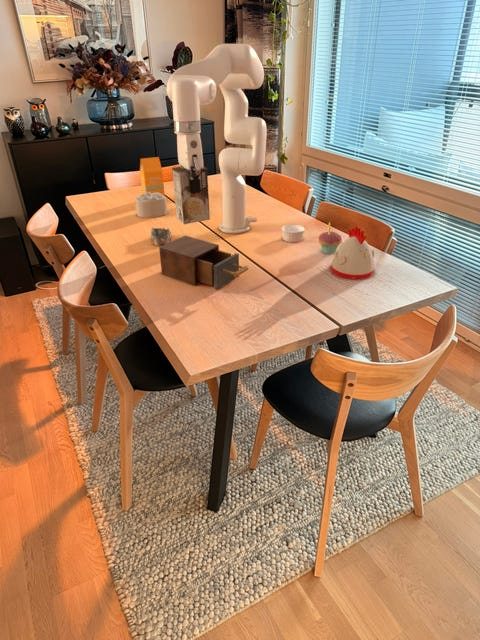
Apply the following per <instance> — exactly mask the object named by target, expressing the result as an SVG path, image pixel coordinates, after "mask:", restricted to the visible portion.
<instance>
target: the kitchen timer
mask: <svg viewBox="0 0 480 640" xmlns="http://www.w3.org/2000/svg"><path fill="white" fill-rule="evenodd" d="M366 238H367V235H365V230H361V228H358V226H355V227H354V228H351V230H350V229H349V230H348V238H347V239H345V240H344V241H342V243H341V244H340V245H339V246H338V247H337V249H336V251H335V253H333V258H332V261H331V264H330V265H331V266H330V269H331V273H333V274H334V275H336V276H337V277H340V278H342V279H347V280H365V279H368V278H370V277H372V276H373V274H374V269H375V260H374V258H375V251H374V249H371V247H370V245H369V243H368V242H367V241H366Z"/></svg>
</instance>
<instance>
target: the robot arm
mask: <svg viewBox="0 0 480 640" xmlns="http://www.w3.org/2000/svg"><path fill="white" fill-rule="evenodd" d="M264 79H265V70H264V66H263V64H262V62H261V60H260V58H259V56H258V53H257V52H256V50H255V49H254V48H253V47H252V46H251V45H250V44H247V43H220V44H218V45H216V46H215V47H214V48H213V49H212V50H211V51H210V52H209V53H208V54H207V55H206V56H205V57H204V58H202V59H201V58H200V59H198V60H195V61H193V62H190V63H189V64H185V65H183V66H180V67H179V68H177V69H176V70H175V71H174V72H172V74H171V75H170V76H169V78H168V80H167V83H166V95H167V97H168V99H169V100H170V102H172V115H173V130H174V134H176V145H177V146H176V148H177V150H176V151H177V160H178V164H179V165H180V166H179V167H182V166H183V167H184V168H186V169H187V170H189V175H190V180H189V186H190V193H199V192H200V171H201V169H202V168H203V167H204V158H203V157H204V156H203V147H202V139H201V131H202V128H201V108H200V106H206V105H207V106H208V105H210V104H212V103H213V102H214V101H215V99H216V97H217V87H219V89H220V91H221V93H222V97H223V99H224V120H223V121H224V123H223V137H224V140H225V141H226V142H227V143H229V144H235V145H247V146H251V147H252V148H245V147H226V148H224V149H222V150H221V151H220V152H219V154H218V167H219V170H220V179H221V200H222V203H221V204H222V205H221V206H222V207H221V208H222V209H221V210H222V223H219V226H218V230H219V231H220V232H223V233H226V234H233V235H234V234H236V235H237V234H243V233H246V232H248V231H249V230H250V228H251V225H250V224H251V223H257V222H258V218H257V217H256V216H254V217H252V216H247V184H246V182H245V179H244V177H243V176H255V177H257V176H260V175H262V174H263V173H264V169H265V165H266V164H265V163H266V152H267V151H266V149H267V137H268V136H267V133H268V132H267V131H268V129H267V124H266V121H265V120H264V119H263V118H261V117H259V116H258V117H257V116H249V101H248V97H247V96H246V94H245V93H244V91H243V90H256V89H259V88H261V87H262V85H263V83H264V81H265V80H264ZM191 167H195V168H192V169H191ZM192 171H195V172H193V175H192Z"/></svg>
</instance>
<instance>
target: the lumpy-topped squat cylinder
mask: <svg viewBox="0 0 480 640" xmlns="http://www.w3.org/2000/svg"><path fill="white" fill-rule="evenodd" d="M167 201H168V200H167V197H166V195H165V196H163V195H162V194H160V193H158V192H155V193H152V194H151V193H150V192H146V193H144V194H143V193H142V194H140V195H138V196H137V197H136V198H135V206H136V207H135V208H136V214H137V217H138V218H158V217H162V216H166V215H168V214H169V213H168V212H169V211H168V202H167Z"/></svg>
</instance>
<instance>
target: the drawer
mask: <svg viewBox="0 0 480 640" xmlns="http://www.w3.org/2000/svg"><path fill="white" fill-rule="evenodd" d="M195 263H196V279H197V281H200V282H201V283H203V284H207V285H209V286H212V287H213V286H214V287H213V288H214V289H215V290H219V289H221V288H222V287H224V286H225V285H227V284H229V283H230V282H232V281H233V280H235V279H237V278H238V277H240V275H241V274H244V273H245V272H247V271H248V270H249V266H247V265H240V254H239V253H233V254H232V253H231V252H227V251H224V250H220V249H219V250H217V249H214V250H212V251H210V252H208V253H206V254H204V255H203V256H201V257H199V258H197V259H195Z"/></svg>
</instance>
